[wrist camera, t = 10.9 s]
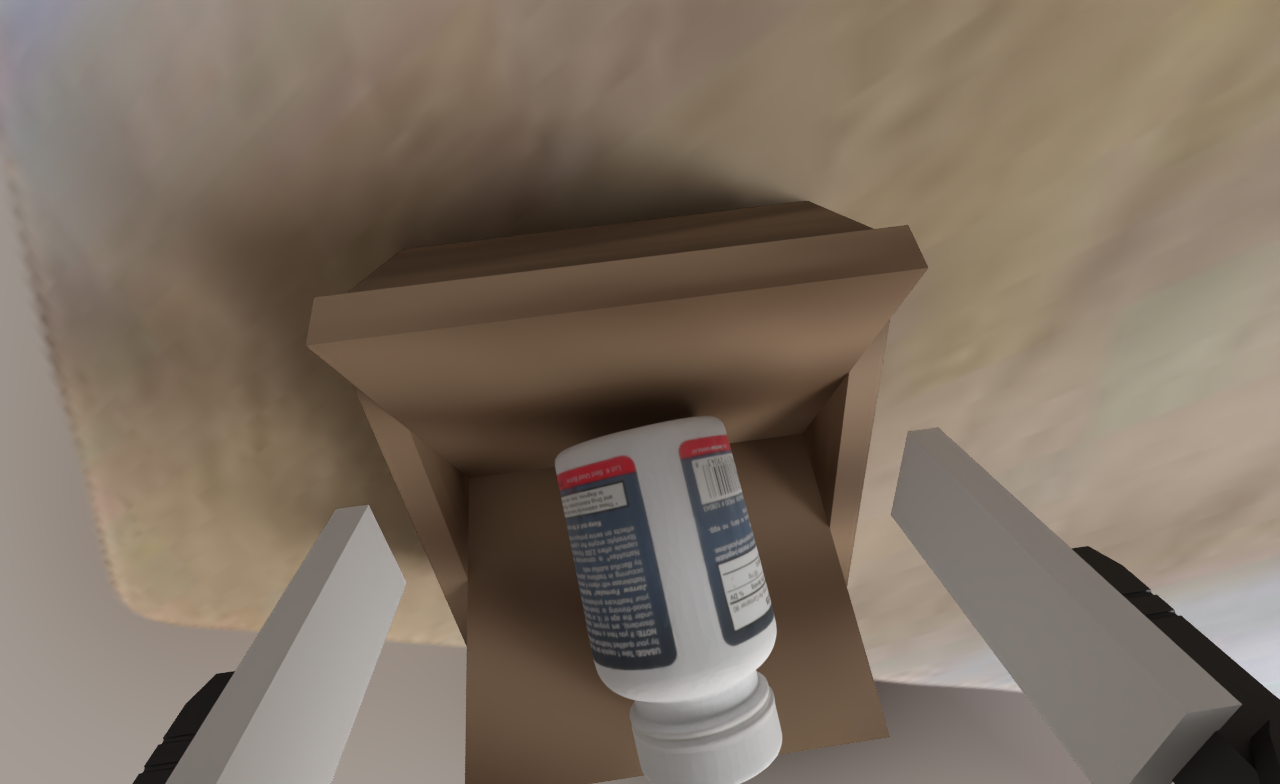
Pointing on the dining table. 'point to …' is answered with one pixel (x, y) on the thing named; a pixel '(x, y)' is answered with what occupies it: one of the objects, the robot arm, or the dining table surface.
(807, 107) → the dining table surface
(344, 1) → the dining table surface
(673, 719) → the pill bottle
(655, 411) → the wooden box with flaps
